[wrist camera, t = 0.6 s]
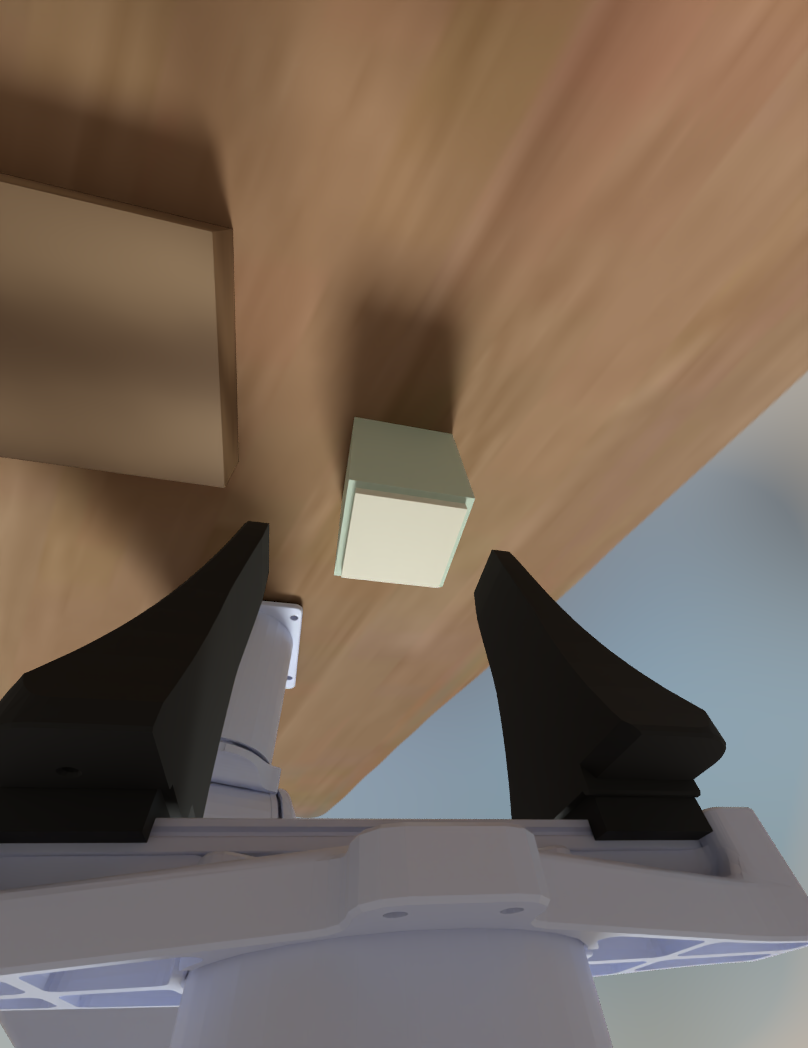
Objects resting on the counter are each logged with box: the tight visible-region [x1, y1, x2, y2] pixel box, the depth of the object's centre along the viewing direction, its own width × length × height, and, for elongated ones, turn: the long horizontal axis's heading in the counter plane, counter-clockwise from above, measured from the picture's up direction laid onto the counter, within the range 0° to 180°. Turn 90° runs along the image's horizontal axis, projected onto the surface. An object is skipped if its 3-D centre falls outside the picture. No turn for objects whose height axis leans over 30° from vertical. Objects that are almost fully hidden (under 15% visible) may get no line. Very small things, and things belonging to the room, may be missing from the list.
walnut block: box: [0, 173, 239, 488], centre depth 17 cm, size 10×10×3 cm
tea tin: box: [334, 417, 475, 588], centre depth 20 cm, size 5×5×6 cm
